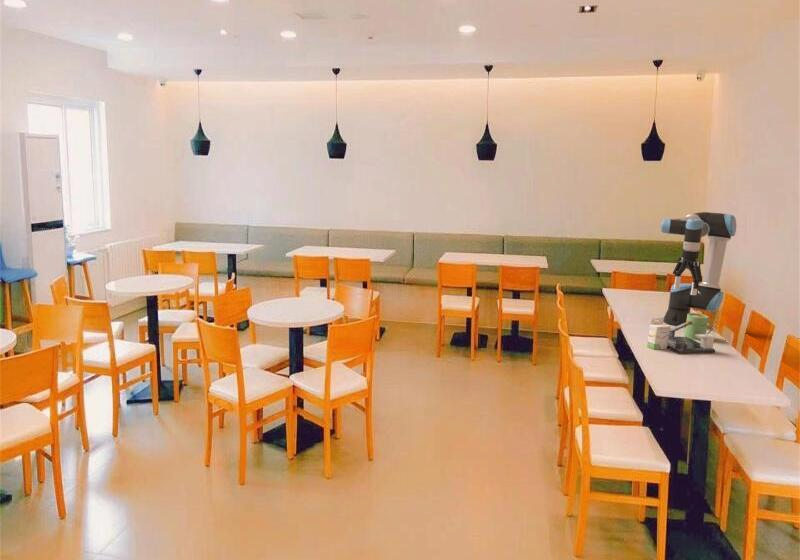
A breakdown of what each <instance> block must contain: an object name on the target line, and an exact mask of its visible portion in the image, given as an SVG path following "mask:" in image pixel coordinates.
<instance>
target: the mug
mask: <svg viewBox="0 0 800 560" xmlns="http://www.w3.org/2000/svg"><path fill="white" fill-rule="evenodd" d="M687 321H693V323H692V324H690V325H688V326H686V327H684V328H685V329H684V336H683V337H688V338H690V339H692V340H694V341H701V338H698V337H696V336H695V335H697V334H710V333H711V332H712V330H713V326H712V325H713V324H712V323H711V322H712V321H710V320H709V316H708V315H706V314H703V313H699V312H698V313H696V312H690V313H688V314H687ZM687 321H686V322H687ZM708 323H709V325H710V330H709V331H708V332H707V329H708Z"/></svg>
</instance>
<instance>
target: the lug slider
mask: <svg viewBox="0 0 800 560" xmlns="http://www.w3.org/2000/svg"><path fill="white" fill-rule="evenodd" d="M695 336H696V337H698V338H701V340H700V342H699V343H700V347H703V348H705V349H707V348H713V347H714V340H715V335H712V334H710V333H709V334H707V333H706V334H697V335H695Z"/></svg>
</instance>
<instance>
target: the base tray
mask: <svg viewBox="0 0 800 560" xmlns="http://www.w3.org/2000/svg"><path fill="white" fill-rule="evenodd" d="M672 328H673V327H672ZM672 328H671V327H670V329H672ZM675 335H676V331H674V332H672V333H669V337H676V336H675ZM682 337H683V338H685V339H687V340H689V343H685V344H684V346H674V345H672V344H670V343H668V344H667V348H666V349H668V350H670V351H672V352H674V353H676V354H678V355H689V354H690V355H691V354H694V355H695V354H697V355H698V354H716V349H715V348H707V349H705V348H703V347H700V343H701V342H698V341H697V340H694V339H690V338H688V337H685V336H682Z"/></svg>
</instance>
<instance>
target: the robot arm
mask: <svg viewBox="0 0 800 560" xmlns="http://www.w3.org/2000/svg"><path fill="white" fill-rule="evenodd" d="M661 221H662V222H661V225H660V230H661V232H662V234H663V233H664V234H668V235H669V234H670V235H678V236H679V235H681V236H684V239H683V246H682V253H681V257H679V258H678V261H677V262H676V265H675V268H673V271H672V274H673V275H674V276H675V277H674V284H672V285H671V288H670V292H669V300H668V308H667V311H666V312H665V315H664V316H663V318H664V320H663V323H664V324H666V325H672V326H674V327H676V326H679V325H681V324H683V323H685V322H686V321H687V314H688V313H691V309H696V310H703V311H707V312H708V311H709V312H716V311H718V310H719V308H720V307H721V305H722V303H723V302H722V301H723V300H724V292H723V291H721V290H722V288H721V286H720V285H719V283H720V279H721V274H722V269H723V264H724V258H725V254H726V253H725V252H726V249H727V244H728V242H729V241H730V240H731V239H732V237H735V235H736V232H737V219H736V216H735V215H733V214H728V213H721V212H708V211H701V212H700V211H699V212H695V213H690V214H687V215H685V216H684V217H680V218H675V219H674V218H664V219H663V220H661ZM705 236H707V238H708V240H709V243H708V248H707V252H706V253H707V254H706V258H705V263H704V269H703V273H702V269H701V261H697V260H698V259H699V254H700V252H699V251H700V248H701V243H702V237H705ZM686 269H687V270H689V271H690V274H691V277H692V279H693V281H692V282H691V283H689V282H688V283H686V282H685V283H684V282H682V275H683V273H684V272H685V270H686Z"/></svg>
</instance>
